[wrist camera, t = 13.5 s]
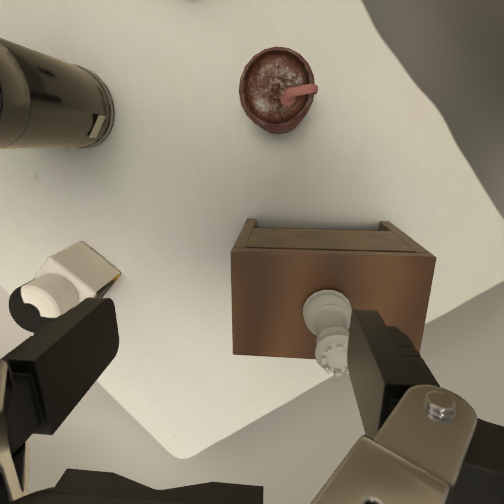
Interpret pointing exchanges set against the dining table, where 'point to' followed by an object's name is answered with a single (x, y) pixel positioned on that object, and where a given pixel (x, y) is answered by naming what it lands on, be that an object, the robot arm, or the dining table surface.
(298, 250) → the shelf
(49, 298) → the medicine bottle
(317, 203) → the dining table surface
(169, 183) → the dining table surface
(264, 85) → the can
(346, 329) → the rook chess piece
